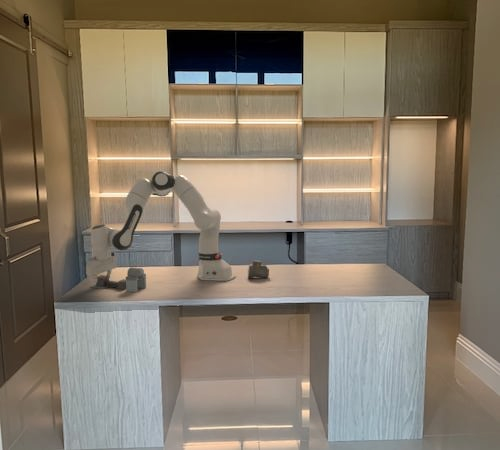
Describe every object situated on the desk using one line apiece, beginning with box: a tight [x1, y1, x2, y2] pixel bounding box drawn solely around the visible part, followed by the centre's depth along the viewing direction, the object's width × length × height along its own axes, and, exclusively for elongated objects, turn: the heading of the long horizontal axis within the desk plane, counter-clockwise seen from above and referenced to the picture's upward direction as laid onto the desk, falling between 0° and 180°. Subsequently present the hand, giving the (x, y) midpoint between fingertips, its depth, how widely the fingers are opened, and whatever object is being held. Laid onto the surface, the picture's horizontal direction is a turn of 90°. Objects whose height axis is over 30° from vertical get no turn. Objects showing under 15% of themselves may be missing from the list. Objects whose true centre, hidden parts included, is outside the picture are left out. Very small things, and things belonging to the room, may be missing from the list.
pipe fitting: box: [247, 260, 270, 279], centre depth 251 cm, size 12×8×10 cm
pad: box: [89, 283, 109, 290], centre depth 238 cm, size 9×9×1 cm
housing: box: [125, 266, 147, 293], centre depth 230 cm, size 6×9×12 cm, turn 159°
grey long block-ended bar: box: [95, 274, 126, 290], centre depth 236 cm, size 20×4×4 cm, turn 69°
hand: (102, 280), depth 238 cm, fingers open, 8 cm apart
